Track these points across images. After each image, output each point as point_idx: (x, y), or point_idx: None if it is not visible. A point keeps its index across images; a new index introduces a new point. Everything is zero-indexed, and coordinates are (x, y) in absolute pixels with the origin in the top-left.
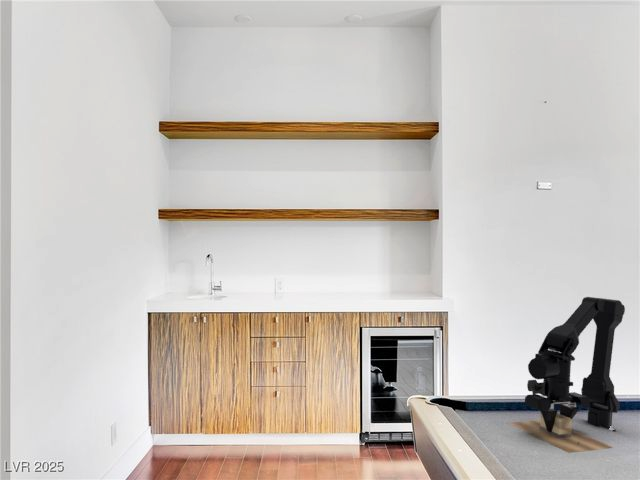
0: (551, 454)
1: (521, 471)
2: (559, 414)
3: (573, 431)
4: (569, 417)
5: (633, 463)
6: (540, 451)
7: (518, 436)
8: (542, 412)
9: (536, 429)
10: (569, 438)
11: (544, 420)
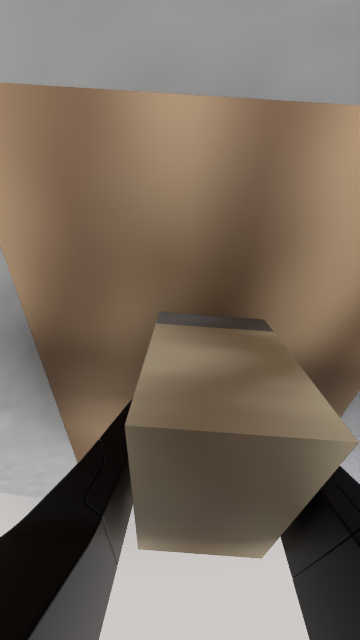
0: (55, 441)
1: None
2: (283, 510)
3: (340, 386)
4: (285, 547)
5: None
6: (27, 421)
7: (4, 292)
8: (34, 528)
9: (131, 309)
10: None
11: (106, 434)
